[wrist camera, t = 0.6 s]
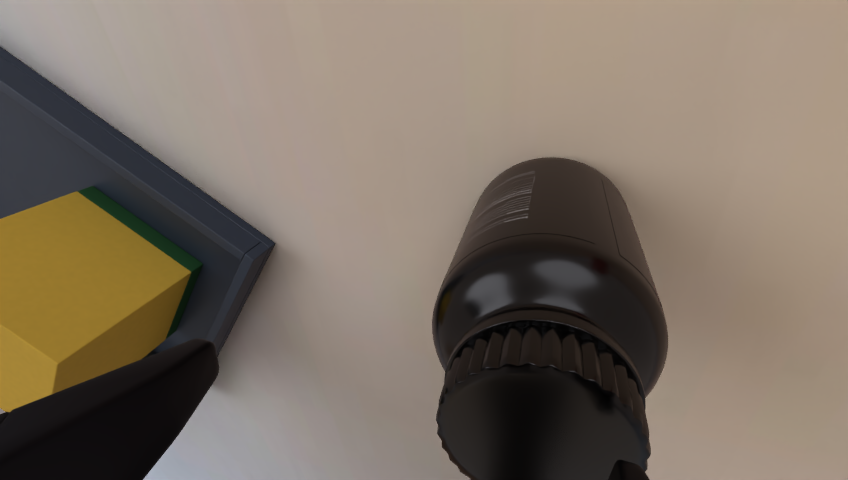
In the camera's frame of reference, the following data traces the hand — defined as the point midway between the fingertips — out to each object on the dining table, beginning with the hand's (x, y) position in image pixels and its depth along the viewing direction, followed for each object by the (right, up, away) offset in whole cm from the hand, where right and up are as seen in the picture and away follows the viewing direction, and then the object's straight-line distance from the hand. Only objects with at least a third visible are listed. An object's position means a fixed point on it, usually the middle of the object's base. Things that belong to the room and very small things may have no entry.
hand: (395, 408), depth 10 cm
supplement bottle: (+6, +4, +11) cm, 13 cm away
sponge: (-18, +2, +19) cm, 26 cm away
